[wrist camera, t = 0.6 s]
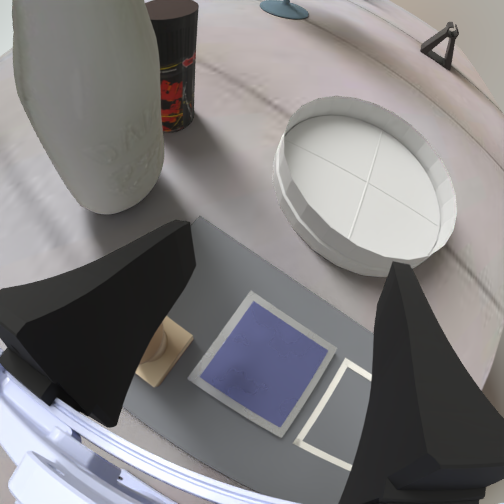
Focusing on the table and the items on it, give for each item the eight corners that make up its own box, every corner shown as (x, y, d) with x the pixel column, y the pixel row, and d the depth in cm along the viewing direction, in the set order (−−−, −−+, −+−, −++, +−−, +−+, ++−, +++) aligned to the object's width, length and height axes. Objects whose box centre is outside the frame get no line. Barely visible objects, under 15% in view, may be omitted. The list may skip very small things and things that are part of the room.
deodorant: (201, 107, 36) (209, 1, 22) (180, 137, 33) (179, 23, 20) (160, 96, 36) (156, -4, 22) (137, 125, 33) (121, 17, 20)
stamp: (159, 386, 23) (137, 391, 15) (112, 348, 24) (73, 334, 16) (193, 339, 25) (188, 322, 17) (147, 303, 26) (122, 270, 17)
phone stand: (419, 51, 57) (439, 17, 46) (421, 45, 59) (439, 13, 48) (449, 70, 56) (470, 39, 45) (449, 63, 58) (468, 33, 48)
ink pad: (278, 435, 23) (282, 438, 21) (187, 378, 24) (186, 378, 22) (332, 349, 26) (338, 347, 25) (248, 293, 27) (251, 289, 26)
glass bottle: (128, 248, 28) (22, -88, 2) (60, 200, 28) (-47, -42, 3) (187, 174, 32) (199, -117, 6) (117, 138, 32) (82, -97, 7)
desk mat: (351, 526, 20) (354, 529, 19) (80, 367, 23) (77, 367, 22) (436, 379, 27) (440, 378, 26) (199, 218, 30) (199, 215, 29)
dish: (308, 99, 40) (318, 73, 35) (439, 174, 39) (458, 155, 34) (235, 216, 31) (241, 188, 26) (418, 312, 30) (448, 300, 25)
